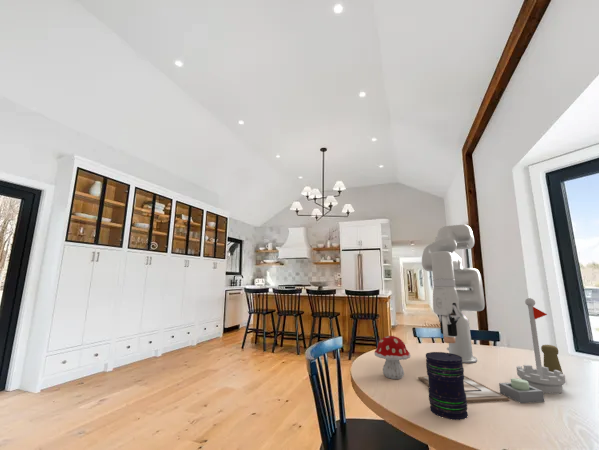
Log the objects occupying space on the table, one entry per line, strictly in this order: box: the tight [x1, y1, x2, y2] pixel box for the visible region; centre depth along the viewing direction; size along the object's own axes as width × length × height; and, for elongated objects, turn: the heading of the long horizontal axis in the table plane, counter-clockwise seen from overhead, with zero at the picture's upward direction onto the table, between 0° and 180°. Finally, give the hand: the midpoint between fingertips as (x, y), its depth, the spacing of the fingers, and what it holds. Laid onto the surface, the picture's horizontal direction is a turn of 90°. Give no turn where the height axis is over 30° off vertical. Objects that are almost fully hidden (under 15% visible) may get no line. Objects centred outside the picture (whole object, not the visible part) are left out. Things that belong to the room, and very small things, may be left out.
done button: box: [510, 378, 529, 391], centre depth 93 cm, size 5×5×4 cm
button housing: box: [498, 382, 545, 404], centre depth 93 cm, size 8×8×3 cm
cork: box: [540, 344, 564, 374], centre depth 114 cm, size 6×6×11 cm
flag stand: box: [516, 297, 566, 394], centre depth 103 cm, size 13×13×30 cm
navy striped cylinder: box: [425, 351, 469, 421], centre depth 84 cm, size 10×10×15 cm
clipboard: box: [417, 375, 510, 404], centre depth 100 cm, size 22×18×1 cm
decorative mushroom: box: [374, 335, 412, 380], centre depth 114 cm, size 14×14×15 cm
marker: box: [442, 314, 456, 344], centre depth 108 cm, size 4×4×12 cm
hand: (449, 334), depth 107 cm, fingers closed on marker, 3 cm apart
